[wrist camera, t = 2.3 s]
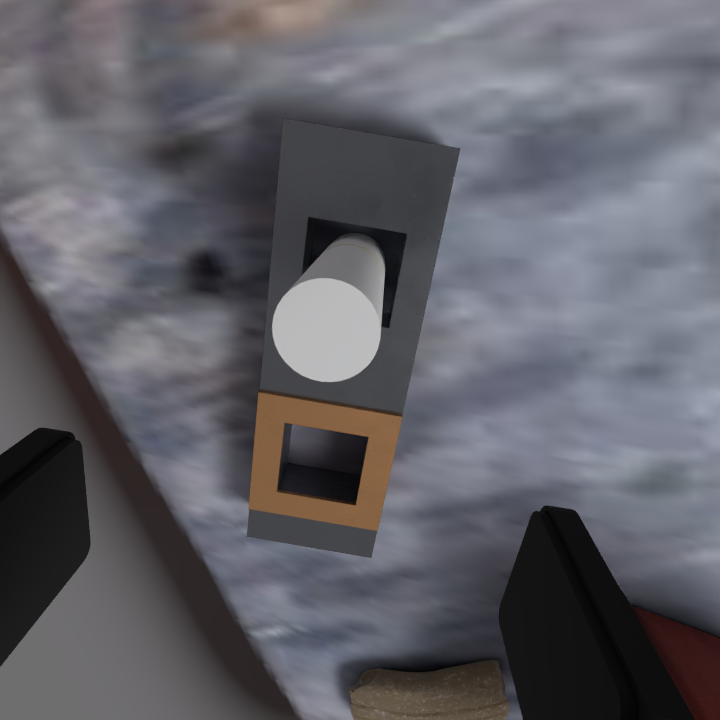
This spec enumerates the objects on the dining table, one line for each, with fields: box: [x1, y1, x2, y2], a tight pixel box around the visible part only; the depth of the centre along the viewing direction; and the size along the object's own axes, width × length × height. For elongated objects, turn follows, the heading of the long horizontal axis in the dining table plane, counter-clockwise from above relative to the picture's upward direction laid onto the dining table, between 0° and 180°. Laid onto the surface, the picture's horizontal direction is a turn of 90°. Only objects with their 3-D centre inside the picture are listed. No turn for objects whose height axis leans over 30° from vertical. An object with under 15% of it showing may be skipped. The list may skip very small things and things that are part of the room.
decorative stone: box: [349, 660, 510, 720], centre depth 47 cm, size 10×16×4 cm, turn 100°
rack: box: [247, 118, 460, 558], centre depth 33 cm, size 30×10×4 cm, turn 171°
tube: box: [272, 233, 386, 382], centre depth 25 cm, size 4×4×15 cm
